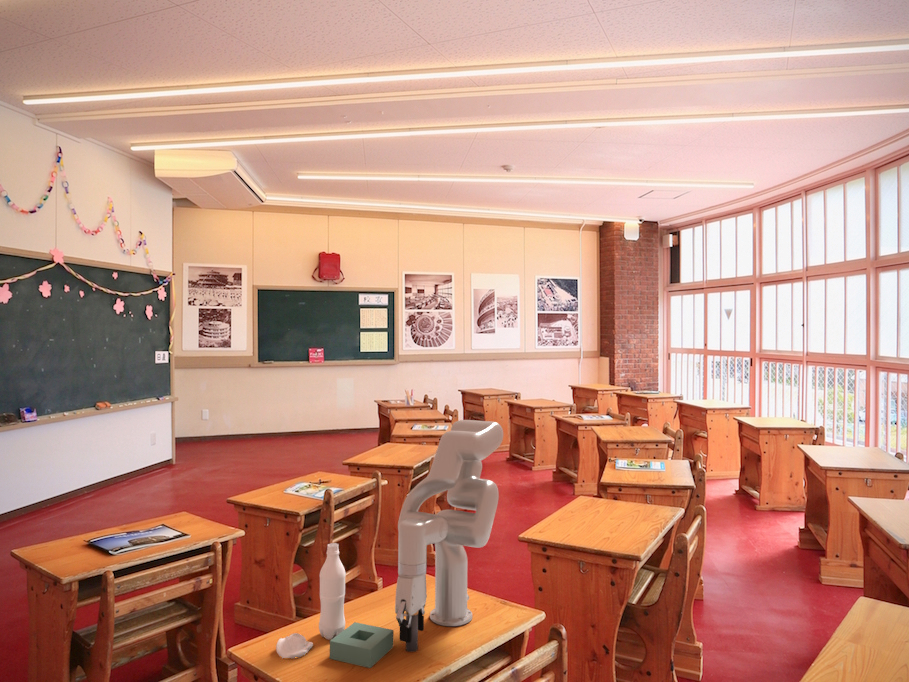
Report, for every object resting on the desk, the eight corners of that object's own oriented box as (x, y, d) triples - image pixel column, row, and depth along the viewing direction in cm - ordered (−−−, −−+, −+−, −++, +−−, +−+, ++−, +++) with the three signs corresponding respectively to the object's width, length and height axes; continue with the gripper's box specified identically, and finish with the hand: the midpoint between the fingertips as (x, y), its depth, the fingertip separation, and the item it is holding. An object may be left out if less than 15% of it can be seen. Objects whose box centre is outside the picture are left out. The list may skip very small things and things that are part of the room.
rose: (269, 632, 162) (303, 622, 168) (269, 649, 162) (303, 639, 168) (284, 646, 154) (320, 635, 160) (284, 664, 154) (319, 653, 160)
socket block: (354, 638, 168) (354, 622, 168) (393, 647, 163) (393, 630, 163) (329, 658, 157) (329, 640, 157) (370, 668, 152) (370, 649, 152)
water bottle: (313, 635, 170) (314, 544, 170) (334, 627, 175) (335, 539, 175) (328, 644, 165) (329, 550, 165) (350, 635, 170) (351, 544, 171)
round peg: (408, 645, 164) (409, 603, 165) (420, 647, 163) (420, 605, 163) (403, 650, 161) (403, 608, 162) (414, 653, 160) (414, 610, 160)
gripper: (414, 555, 172) (413, 620, 172) (383, 576, 156) (383, 647, 156) (438, 559, 169) (438, 624, 169) (410, 580, 153) (409, 652, 153)
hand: (411, 634), depth 162 cm, fingers open, 6 cm apart
